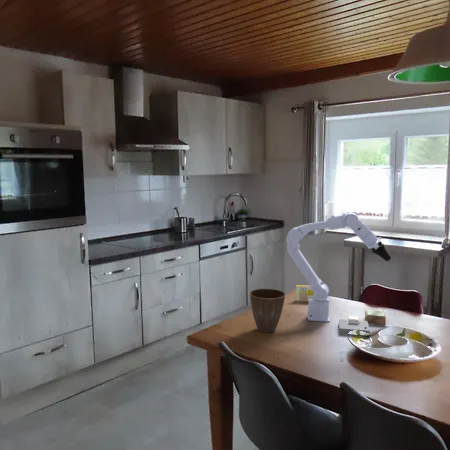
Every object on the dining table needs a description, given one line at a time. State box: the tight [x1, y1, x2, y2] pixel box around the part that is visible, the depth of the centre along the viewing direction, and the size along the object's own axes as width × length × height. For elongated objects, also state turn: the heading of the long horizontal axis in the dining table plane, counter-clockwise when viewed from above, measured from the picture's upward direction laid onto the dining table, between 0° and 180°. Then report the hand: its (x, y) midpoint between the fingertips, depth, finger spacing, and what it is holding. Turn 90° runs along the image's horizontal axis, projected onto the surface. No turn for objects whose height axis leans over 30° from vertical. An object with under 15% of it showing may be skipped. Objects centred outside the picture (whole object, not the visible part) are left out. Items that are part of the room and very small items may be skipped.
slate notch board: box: [338, 318, 371, 336], centre depth 191 cm, size 12×12×2 cm
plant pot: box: [249, 288, 286, 334], centre depth 190 cm, size 15×15×16 cm
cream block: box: [347, 315, 360, 324], centre depth 194 cm, size 4×4×4 cm
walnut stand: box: [364, 309, 387, 326], centre depth 202 cm, size 8×8×4 cm
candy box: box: [295, 284, 329, 302], centre depth 233 cm, size 16×2×8 cm, turn 84°
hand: (388, 258), depth 194 cm, fingers open, 7 cm apart
